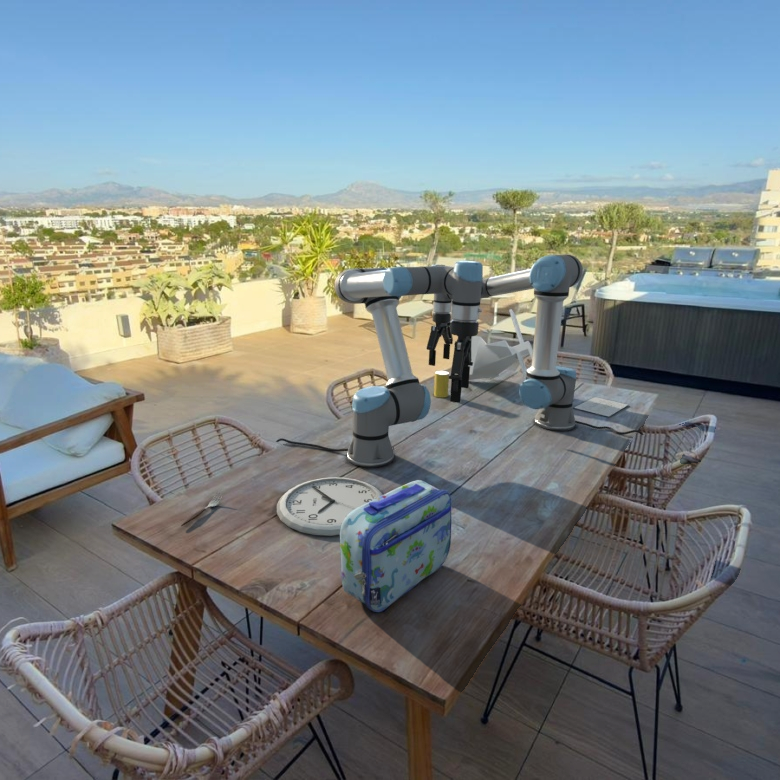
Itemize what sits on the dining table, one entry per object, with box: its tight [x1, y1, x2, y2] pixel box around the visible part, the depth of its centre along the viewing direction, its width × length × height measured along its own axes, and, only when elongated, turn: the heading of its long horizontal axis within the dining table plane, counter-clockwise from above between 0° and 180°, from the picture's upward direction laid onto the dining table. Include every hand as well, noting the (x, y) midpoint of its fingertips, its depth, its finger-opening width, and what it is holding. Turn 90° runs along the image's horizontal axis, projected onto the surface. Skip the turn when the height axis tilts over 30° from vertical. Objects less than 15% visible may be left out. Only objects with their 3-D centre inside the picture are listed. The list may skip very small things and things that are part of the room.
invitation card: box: [573, 396, 629, 418], centre depth 226 cm, size 21×1×15 cm
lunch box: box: [339, 479, 452, 613], centre depth 109 cm, size 26×11×21 cm, turn 134°
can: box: [433, 370, 450, 399], centre depth 236 cm, size 6×6×11 cm
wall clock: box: [276, 476, 385, 537], centre depth 142 cm, size 30×2×30 cm
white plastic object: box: [468, 308, 533, 381], centre depth 252 cm, size 37×45×31 cm
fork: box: [180, 491, 225, 527], centre depth 138 cm, size 3×16×2 cm, turn 160°
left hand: (459, 394), depth 148 cm, fingers open, 13 cm apart
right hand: (439, 362), depth 223 cm, fingers open, 13 cm apart
